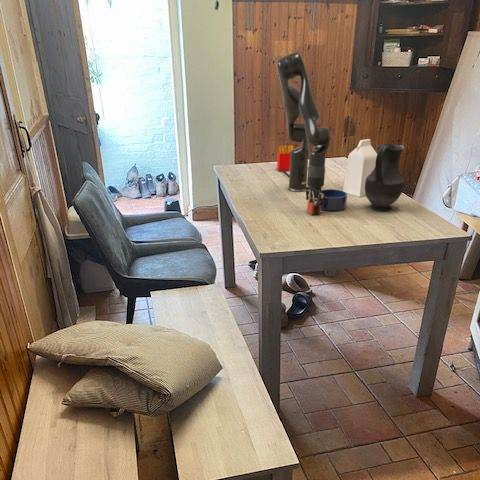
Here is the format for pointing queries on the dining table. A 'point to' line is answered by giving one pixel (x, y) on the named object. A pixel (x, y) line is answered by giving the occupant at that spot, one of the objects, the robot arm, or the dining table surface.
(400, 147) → the pitcher
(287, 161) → the french fries container
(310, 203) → the block
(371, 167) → the milk
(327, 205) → the bowl
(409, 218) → the dining table surface
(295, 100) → the robot arm
